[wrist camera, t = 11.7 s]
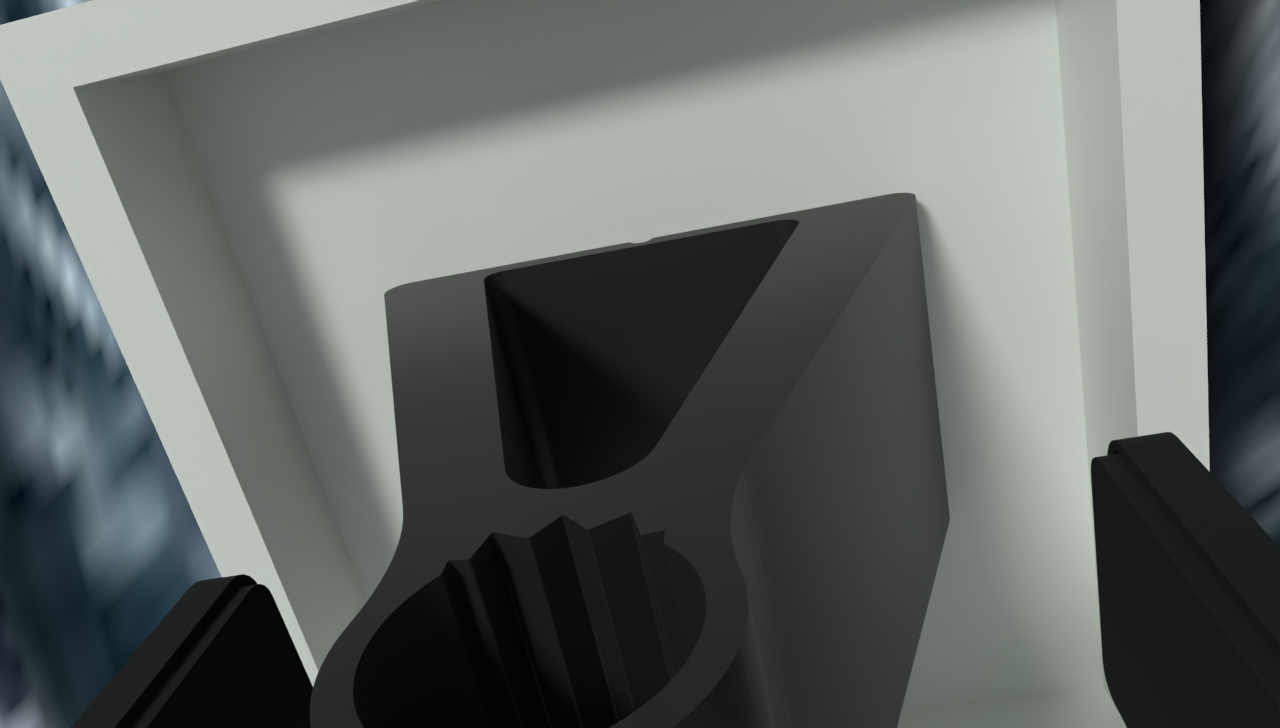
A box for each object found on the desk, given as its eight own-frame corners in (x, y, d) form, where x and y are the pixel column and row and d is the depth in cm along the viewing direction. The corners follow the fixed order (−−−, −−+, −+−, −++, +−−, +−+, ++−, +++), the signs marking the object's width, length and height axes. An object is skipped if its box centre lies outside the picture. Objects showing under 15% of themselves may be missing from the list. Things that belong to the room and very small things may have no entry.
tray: (1098, -239, 14) (1194, -293, 11) (1146, 700, 20) (1216, 818, 17) (104, 21, 16) (-22, 30, 13) (412, 790, 22) (368, 906, 19)
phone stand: (913, 189, 16) (1387, 698, 5) (944, 508, 18) (1323, 1388, 7) (391, 282, 17) (-223, 860, 6) (478, 570, 19) (146, 1397, 8)
